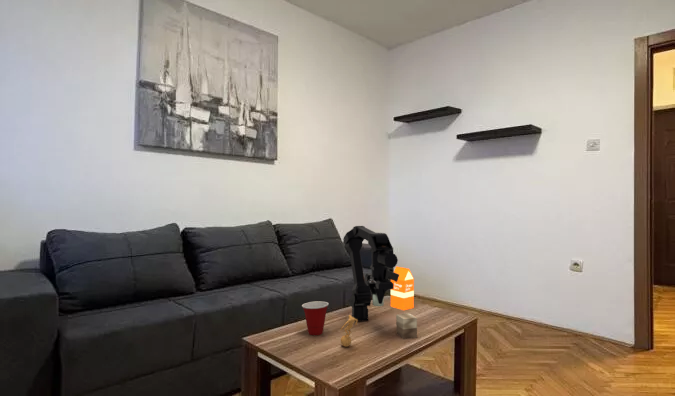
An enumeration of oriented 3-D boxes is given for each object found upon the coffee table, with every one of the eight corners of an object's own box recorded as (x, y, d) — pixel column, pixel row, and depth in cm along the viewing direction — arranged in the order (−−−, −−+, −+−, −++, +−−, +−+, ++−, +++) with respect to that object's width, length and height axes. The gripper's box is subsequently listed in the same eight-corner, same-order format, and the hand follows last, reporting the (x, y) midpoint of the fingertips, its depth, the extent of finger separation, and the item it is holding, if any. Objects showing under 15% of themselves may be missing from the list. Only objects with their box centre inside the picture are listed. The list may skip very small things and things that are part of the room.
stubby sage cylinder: (374, 306, 154) (374, 296, 154) (371, 303, 159) (371, 293, 159) (385, 305, 155) (385, 295, 155) (381, 302, 160) (381, 293, 160)
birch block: (403, 329, 149) (403, 319, 149) (396, 324, 155) (396, 314, 155) (416, 327, 151) (416, 317, 151) (409, 323, 156) (409, 313, 157)
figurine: (349, 341, 146) (350, 310, 146) (361, 346, 141) (361, 313, 141) (334, 347, 140) (334, 314, 140) (345, 352, 135) (346, 318, 135)
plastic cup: (311, 326, 162) (311, 298, 162) (333, 331, 157) (333, 302, 157) (296, 334, 153) (296, 304, 153) (318, 339, 147) (318, 308, 147)
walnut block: (402, 339, 149) (402, 329, 149) (396, 334, 155) (396, 324, 155) (416, 338, 151) (416, 327, 151) (410, 332, 156) (410, 323, 156)
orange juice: (403, 310, 187) (404, 269, 187) (390, 306, 194) (390, 267, 194) (414, 307, 192) (414, 267, 192) (400, 303, 199) (400, 265, 199)
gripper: (406, 267, 150) (405, 307, 150) (388, 260, 168) (388, 295, 168) (379, 268, 147) (378, 308, 147) (364, 260, 165) (364, 296, 165)
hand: (378, 302), depth 157 cm, fingers closed on stubby sage cylinder, 5 cm apart
